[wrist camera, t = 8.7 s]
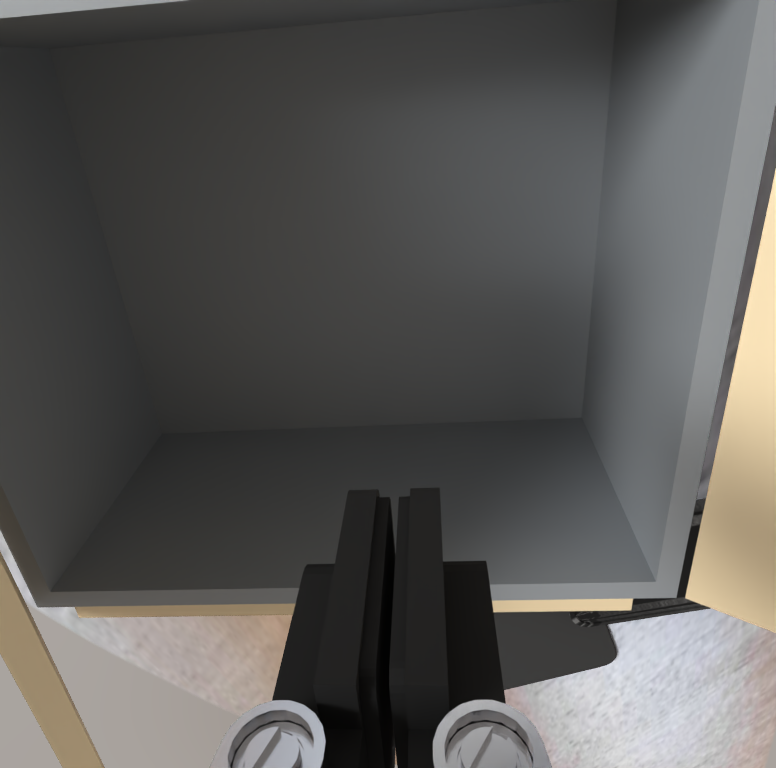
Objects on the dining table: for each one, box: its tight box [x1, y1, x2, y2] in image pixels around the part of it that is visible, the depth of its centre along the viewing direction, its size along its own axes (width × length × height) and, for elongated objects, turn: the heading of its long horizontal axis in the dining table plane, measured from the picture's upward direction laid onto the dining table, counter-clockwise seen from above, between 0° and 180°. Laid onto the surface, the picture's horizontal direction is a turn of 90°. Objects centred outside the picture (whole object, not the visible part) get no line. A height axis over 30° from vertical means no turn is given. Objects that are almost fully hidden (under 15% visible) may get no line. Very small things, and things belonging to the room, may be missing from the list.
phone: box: [494, 611, 616, 690], centre depth 41 cm, size 7×1×15 cm
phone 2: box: [569, 498, 710, 627], centre depth 36 cm, size 8×1×15 cm
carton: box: [0, 0, 776, 618], centre depth 23 cm, size 21×24×12 cm
